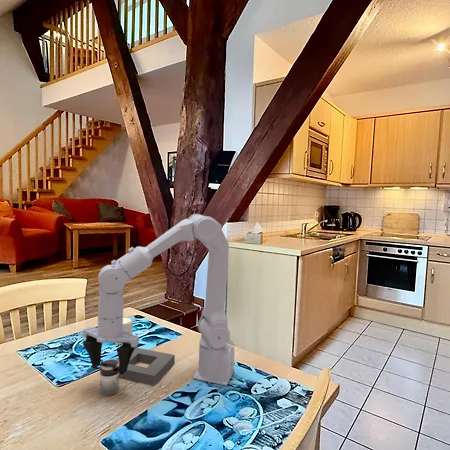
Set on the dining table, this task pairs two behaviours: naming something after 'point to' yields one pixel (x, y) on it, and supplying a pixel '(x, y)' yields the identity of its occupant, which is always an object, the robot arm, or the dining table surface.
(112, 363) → the lens
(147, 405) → the dining table surface
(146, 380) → the square peg hole
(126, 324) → the white cylinder
